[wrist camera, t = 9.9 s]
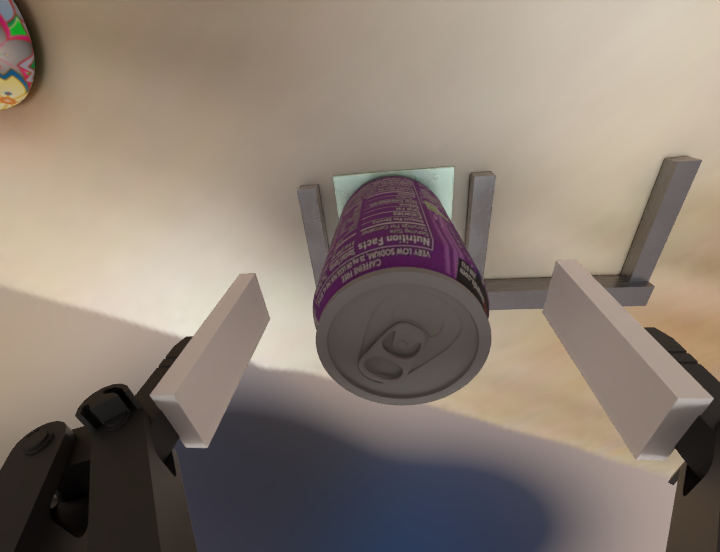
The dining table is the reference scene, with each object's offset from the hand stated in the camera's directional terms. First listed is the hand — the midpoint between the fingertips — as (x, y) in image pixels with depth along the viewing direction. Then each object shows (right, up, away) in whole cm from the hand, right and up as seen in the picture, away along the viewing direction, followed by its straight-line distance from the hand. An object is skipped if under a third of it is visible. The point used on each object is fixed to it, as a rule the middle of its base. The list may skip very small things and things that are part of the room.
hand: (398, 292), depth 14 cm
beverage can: (0, +4, +7) cm, 9 cm away
